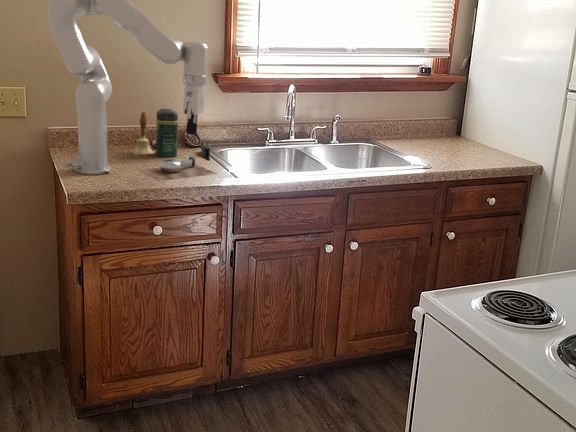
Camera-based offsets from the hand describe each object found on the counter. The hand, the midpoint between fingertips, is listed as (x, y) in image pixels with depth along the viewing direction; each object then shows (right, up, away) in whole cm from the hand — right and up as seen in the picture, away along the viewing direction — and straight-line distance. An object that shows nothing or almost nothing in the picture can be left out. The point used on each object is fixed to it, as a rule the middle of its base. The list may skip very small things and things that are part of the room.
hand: (191, 133), depth 239 cm
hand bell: (-23, -4, +32) cm, 40 cm away
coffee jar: (-13, -6, +28) cm, 31 cm away
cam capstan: (-5, -11, +8) cm, 15 cm away
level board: (-5, -14, +5) cm, 16 cm away
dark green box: (+1, -5, +35) cm, 35 cm away
